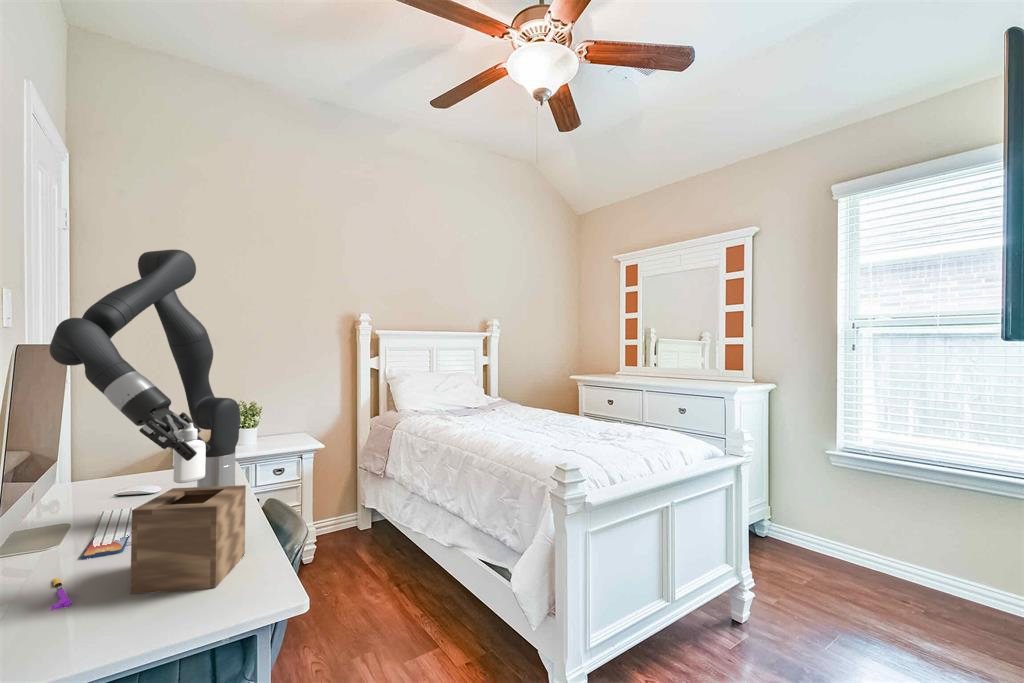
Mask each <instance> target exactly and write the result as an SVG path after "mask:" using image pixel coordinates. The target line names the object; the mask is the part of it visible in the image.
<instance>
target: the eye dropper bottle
mask: <svg viewBox="0 0 1024 683" xmlns="http://www.w3.org/2000/svg"><path fill="white" fill-rule="evenodd" d="M197 431H198V430H197V429H195V428H194V426H193V423H189V425H188V428H187V429H185V430H184V440H183V441H185V442H186V443H187V444H188V445H189V446H190V447H191V448H193V449H194V450H195V451H196V452H197V454H196V455H195V456H194V457H193V458H192V459H191V460H189V461H186V460H185V459H184V458H183V457H182V456H181V455H180V454H178V453H177V452H176V451H175V450H174V449H173V476H172V478H173V482H174V483H176V484H187V483H192V482H197V480H200V479H202V478H204V477H205V461H206V445H205V442H206V441H205V442H203V441H201V440H197Z"/></svg>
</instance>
